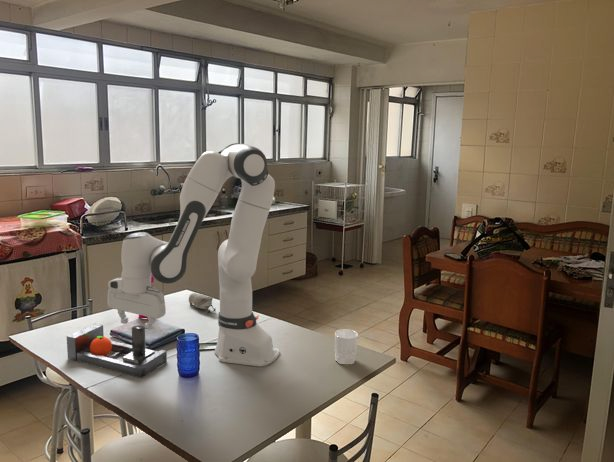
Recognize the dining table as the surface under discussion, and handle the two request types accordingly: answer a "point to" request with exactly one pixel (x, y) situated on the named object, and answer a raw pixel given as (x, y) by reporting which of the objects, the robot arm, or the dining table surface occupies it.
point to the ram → (138, 346)
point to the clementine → (101, 346)
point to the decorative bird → (201, 301)
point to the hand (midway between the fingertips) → (136, 325)
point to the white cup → (345, 346)
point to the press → (81, 352)
